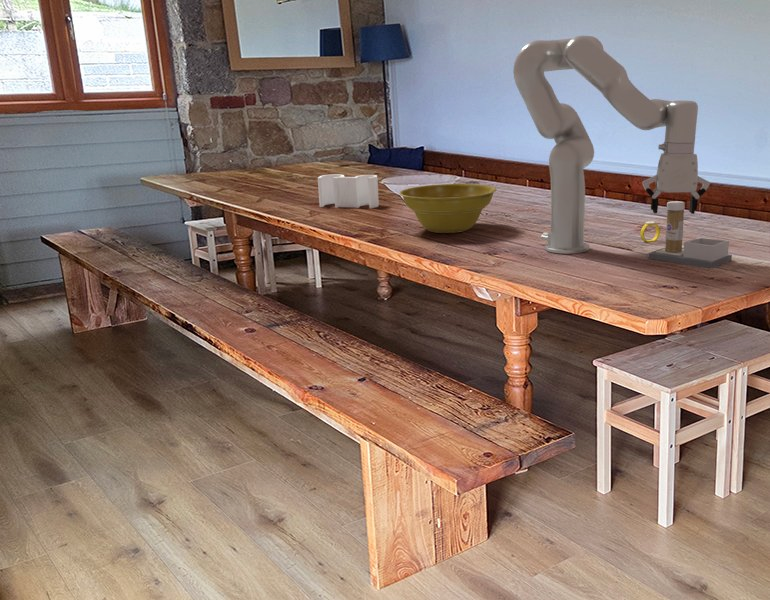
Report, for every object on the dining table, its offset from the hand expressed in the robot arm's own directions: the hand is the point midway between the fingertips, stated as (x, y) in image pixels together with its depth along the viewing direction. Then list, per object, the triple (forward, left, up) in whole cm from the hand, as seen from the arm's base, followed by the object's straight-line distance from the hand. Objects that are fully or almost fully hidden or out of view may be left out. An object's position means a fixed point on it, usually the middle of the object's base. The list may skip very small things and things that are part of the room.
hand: (673, 212), depth 220 cm
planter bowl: (-77, -8, -13) cm, 78 cm away
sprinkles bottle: (+1, 0, -11) cm, 11 cm away
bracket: (-143, +4, -13) cm, 144 cm away
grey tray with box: (+5, 0, -12) cm, 13 cm away
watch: (-15, +14, -13) cm, 24 cm away
